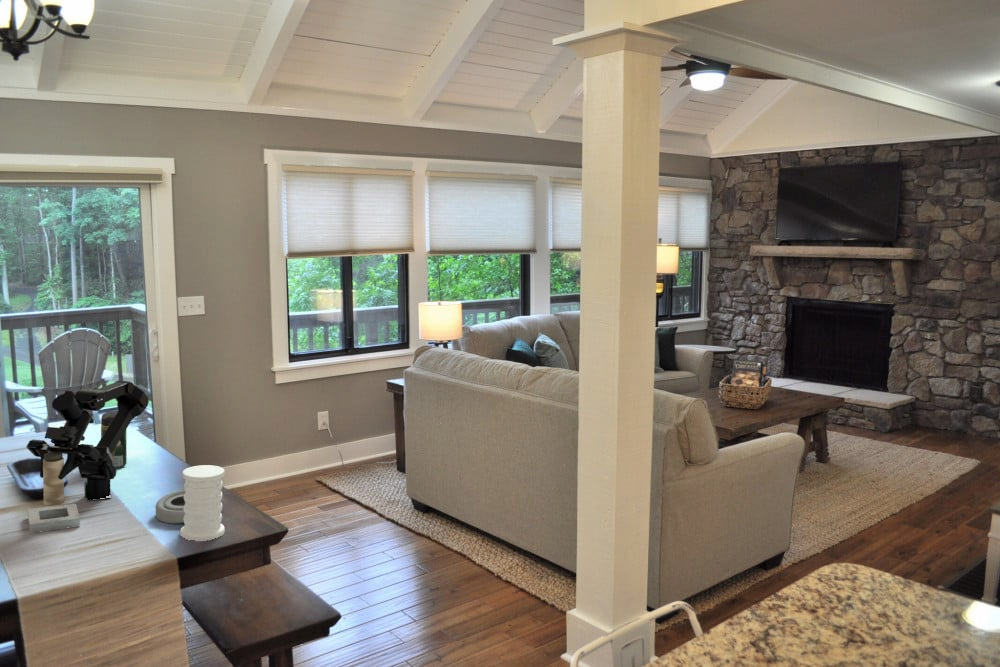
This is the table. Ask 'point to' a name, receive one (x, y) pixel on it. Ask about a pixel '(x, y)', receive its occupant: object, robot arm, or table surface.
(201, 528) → the decorative container
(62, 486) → the tan bottle
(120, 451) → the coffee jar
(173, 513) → the turbocharger housing
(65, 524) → the housing plate
